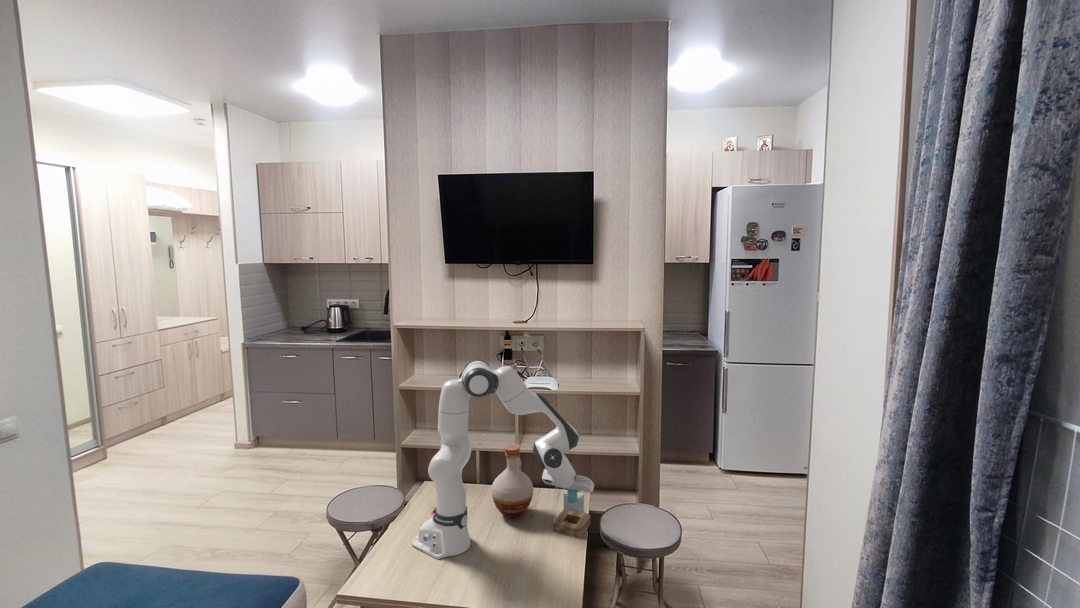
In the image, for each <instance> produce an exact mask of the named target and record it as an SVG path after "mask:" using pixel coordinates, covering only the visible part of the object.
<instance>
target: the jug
mask: <svg viewBox="0 0 1080 608" xmlns="http://www.w3.org/2000/svg"><path fill="white" fill-rule="evenodd" d="M520 449H521V445H520V444H518V443H516V442H512V443H510V442H509V443H507V444H505V445H504V457H505V458H506V468H505V469H504V470H503V471H502V472H501V473H500V474H499V475H498V476H497V477H495V479H494V481H493V482H492V485H491V497H492V500H493V503H494V505H495V508H496V509H497V510H498V512H500V514H501V515H502V516H503V517H504V518H506V519H511V520H513V519H514V520H516V519H518V518H520V517H521V516H523V514H524V513H525V512H526V511H527V509H528V508H529V507H530V504H531V502H532V500H533V495H534V486H533V485H534V484H533V482H532V480H531V478H530V477H529V476H528V475H527V474H526V473H525V472H523V471H522V460H521V457H520V455H521V452H520Z"/></svg>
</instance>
